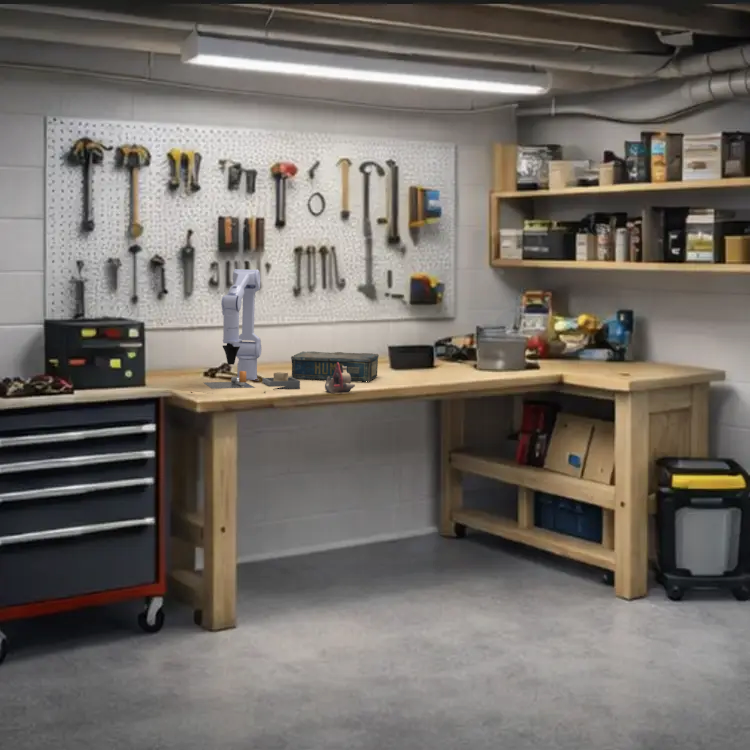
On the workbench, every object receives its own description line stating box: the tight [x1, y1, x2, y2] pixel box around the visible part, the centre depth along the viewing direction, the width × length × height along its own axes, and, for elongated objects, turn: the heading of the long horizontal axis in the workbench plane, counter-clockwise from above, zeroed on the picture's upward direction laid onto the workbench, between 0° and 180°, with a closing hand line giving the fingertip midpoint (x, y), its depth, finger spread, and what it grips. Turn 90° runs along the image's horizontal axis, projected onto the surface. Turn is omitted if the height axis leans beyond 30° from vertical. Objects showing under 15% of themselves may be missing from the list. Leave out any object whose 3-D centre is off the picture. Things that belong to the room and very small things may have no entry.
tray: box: [262, 376, 301, 390], centre depth 448 cm, size 12×12×3 cm
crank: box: [230, 371, 247, 385], centre depth 444 cm, size 12×4×5 cm, turn 22°
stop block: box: [273, 371, 289, 381], centre depth 448 cm, size 4×4×5 cm
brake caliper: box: [324, 362, 356, 395], centre depth 438 cm, size 11×11×12 cm
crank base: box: [202, 381, 256, 390], centre depth 442 cm, size 18×16×1 cm
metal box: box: [290, 351, 379, 383], centre depth 480 cm, size 21×32×10 cm, turn 79°
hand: (231, 364), depth 438 cm, fingers closed
